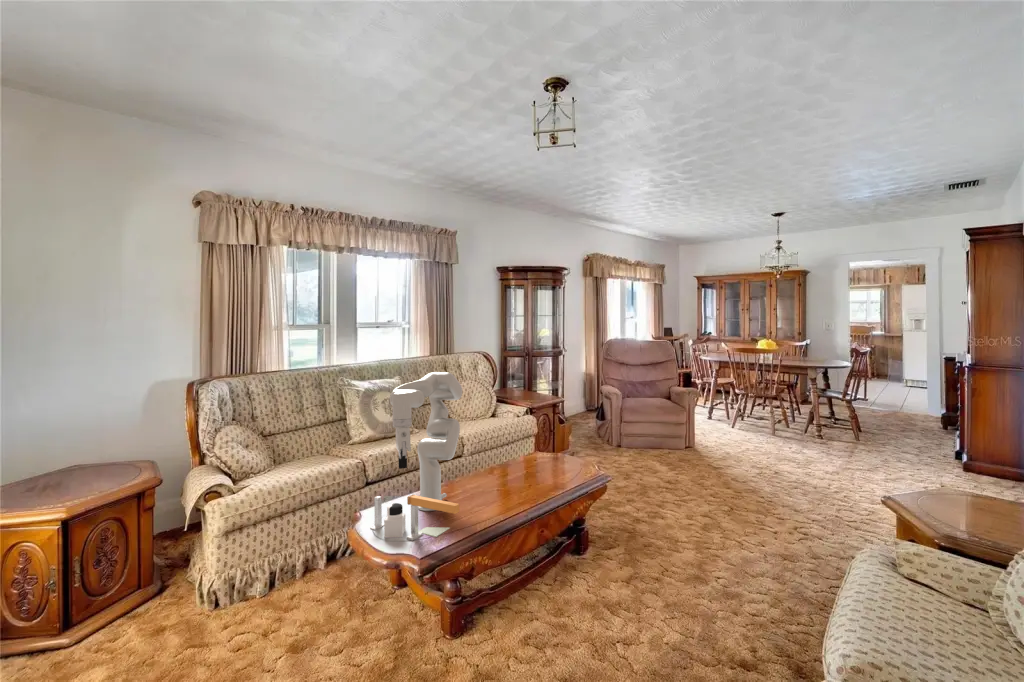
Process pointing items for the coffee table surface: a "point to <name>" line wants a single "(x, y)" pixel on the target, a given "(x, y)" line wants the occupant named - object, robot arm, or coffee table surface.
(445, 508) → the bar
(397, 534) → the medicine bottle
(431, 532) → the coaster
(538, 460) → the coffee table surface
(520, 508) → the coffee table surface
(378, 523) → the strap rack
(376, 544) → the coffee table surface
